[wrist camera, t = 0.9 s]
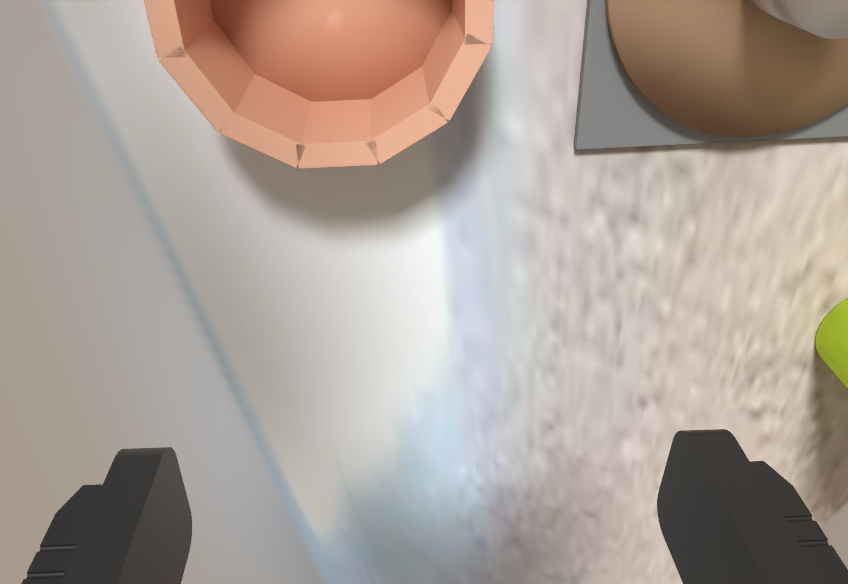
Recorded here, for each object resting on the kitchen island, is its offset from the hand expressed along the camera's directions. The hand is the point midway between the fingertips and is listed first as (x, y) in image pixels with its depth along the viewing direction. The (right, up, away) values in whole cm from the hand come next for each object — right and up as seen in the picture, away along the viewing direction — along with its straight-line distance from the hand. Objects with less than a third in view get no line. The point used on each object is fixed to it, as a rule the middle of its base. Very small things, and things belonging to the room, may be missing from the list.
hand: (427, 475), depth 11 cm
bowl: (-4, +16, +18) cm, 24 cm away
